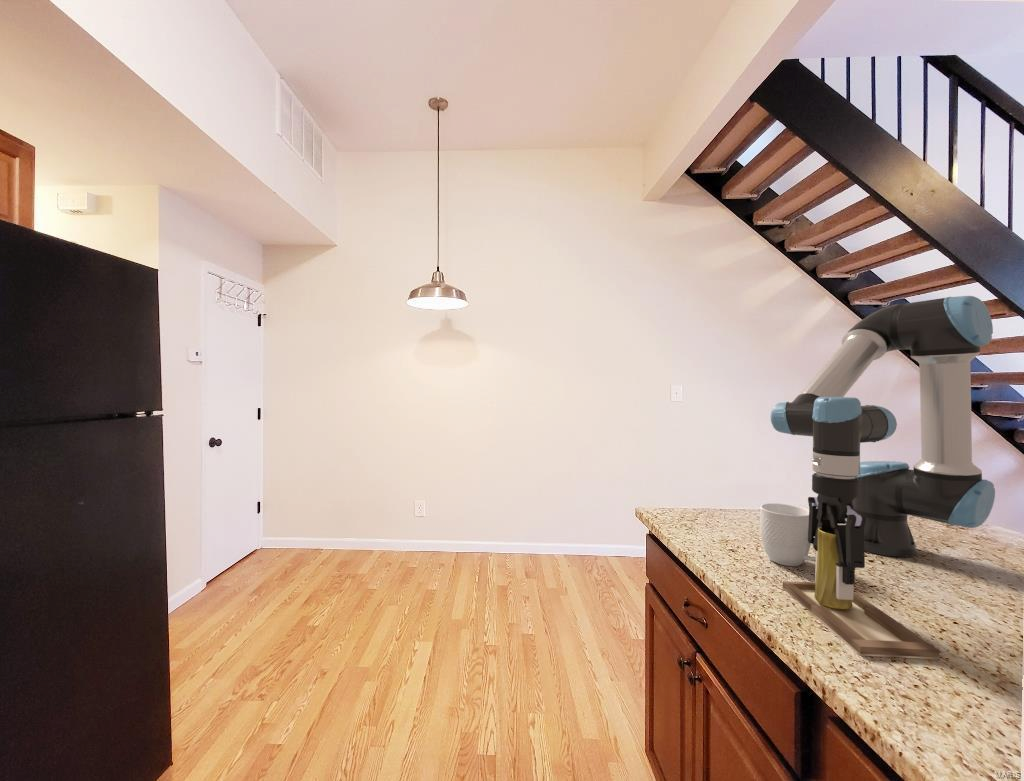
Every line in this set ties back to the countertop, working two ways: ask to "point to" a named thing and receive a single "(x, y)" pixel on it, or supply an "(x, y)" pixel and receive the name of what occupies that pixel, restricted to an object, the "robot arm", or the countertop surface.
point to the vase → (828, 571)
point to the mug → (785, 533)
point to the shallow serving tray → (864, 626)
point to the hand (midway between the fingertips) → (833, 590)
